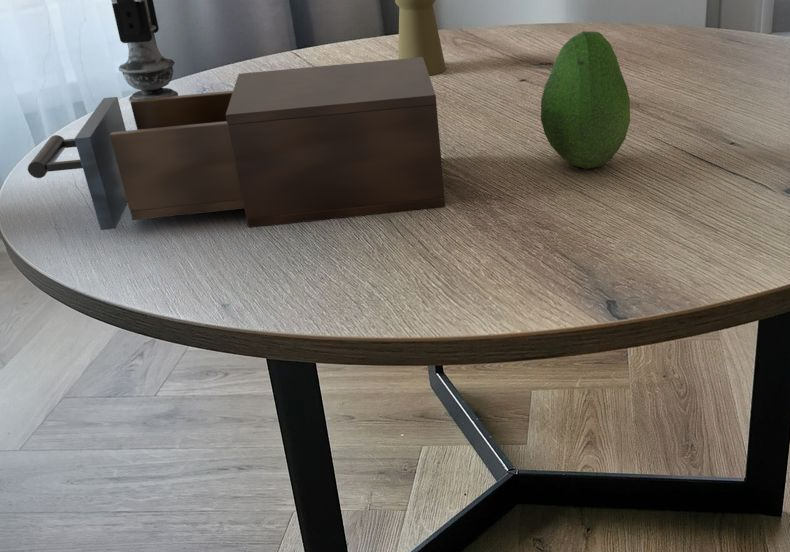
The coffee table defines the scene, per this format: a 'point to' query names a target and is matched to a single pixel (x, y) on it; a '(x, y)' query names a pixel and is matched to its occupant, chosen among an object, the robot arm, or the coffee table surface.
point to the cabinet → (336, 141)
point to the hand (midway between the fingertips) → (140, 35)
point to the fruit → (586, 102)
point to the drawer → (153, 158)
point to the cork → (420, 34)
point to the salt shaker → (148, 69)
